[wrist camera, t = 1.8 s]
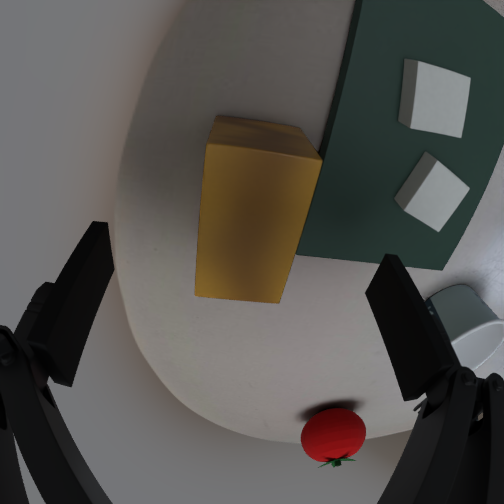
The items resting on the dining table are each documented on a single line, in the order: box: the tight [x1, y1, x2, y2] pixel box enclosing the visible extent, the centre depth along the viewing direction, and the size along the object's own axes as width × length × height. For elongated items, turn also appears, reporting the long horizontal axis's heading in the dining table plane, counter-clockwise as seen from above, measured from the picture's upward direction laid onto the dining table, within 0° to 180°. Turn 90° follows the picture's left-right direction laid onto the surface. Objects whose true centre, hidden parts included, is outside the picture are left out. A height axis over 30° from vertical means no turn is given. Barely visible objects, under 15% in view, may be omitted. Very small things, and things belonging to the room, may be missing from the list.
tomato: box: [301, 408, 366, 467], centre depth 39 cm, size 10×10×10 cm
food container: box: [425, 285, 504, 371], centre depth 26 cm, size 12×12×6 cm
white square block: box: [394, 151, 470, 232], centre depth 17 cm, size 4×4×2 cm
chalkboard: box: [295, 0, 504, 271], centre depth 16 cm, size 22×14×1 cm, turn 171°
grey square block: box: [398, 59, 471, 138], centre depth 13 cm, size 4×4×2 cm
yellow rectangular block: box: [195, 116, 323, 304], centre depth 17 cm, size 5×9×6 cm, turn 171°
